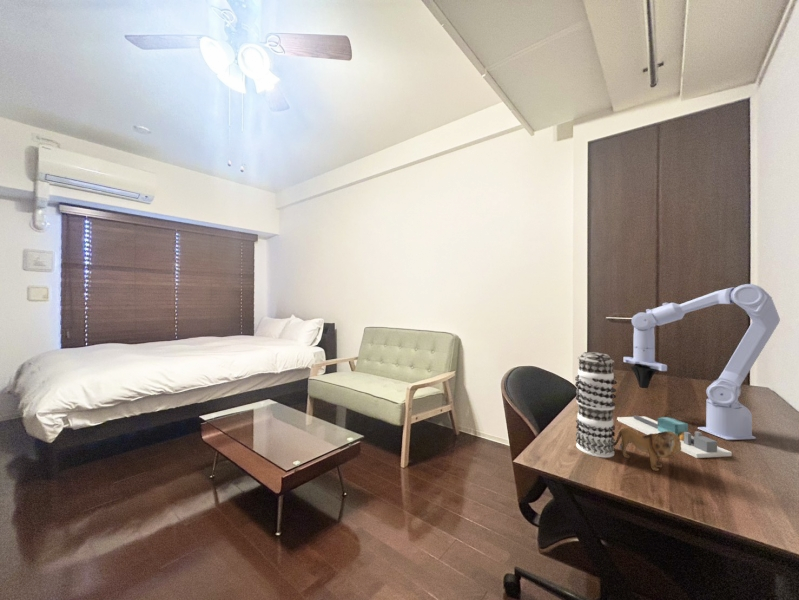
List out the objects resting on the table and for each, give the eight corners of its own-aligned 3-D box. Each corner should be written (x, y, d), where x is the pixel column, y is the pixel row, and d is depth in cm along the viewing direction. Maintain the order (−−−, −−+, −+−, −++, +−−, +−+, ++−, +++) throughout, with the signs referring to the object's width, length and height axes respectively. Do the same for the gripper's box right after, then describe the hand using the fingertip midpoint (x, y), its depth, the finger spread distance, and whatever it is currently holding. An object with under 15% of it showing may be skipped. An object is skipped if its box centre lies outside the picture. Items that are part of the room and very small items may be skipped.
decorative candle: (621, 450, 79) (621, 354, 79) (609, 462, 73) (610, 358, 73) (582, 438, 86) (582, 349, 86) (569, 448, 80) (569, 352, 80)
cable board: (644, 419, 101) (644, 407, 101) (731, 456, 77) (731, 440, 77) (617, 420, 100) (617, 408, 100) (696, 458, 76) (696, 441, 76)
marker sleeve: (669, 429, 90) (670, 417, 90) (687, 437, 85) (688, 423, 85) (657, 430, 89) (657, 417, 89) (675, 438, 84) (675, 424, 84)
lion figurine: (685, 472, 69) (685, 432, 69) (676, 479, 67) (676, 438, 67) (613, 445, 82) (613, 412, 82) (603, 450, 79) (603, 415, 79)
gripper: (615, 344, 112) (615, 382, 111) (653, 351, 97) (652, 394, 97) (633, 344, 112) (633, 381, 112) (673, 351, 98) (672, 393, 98)
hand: (643, 387), depth 105 cm, fingers closed
